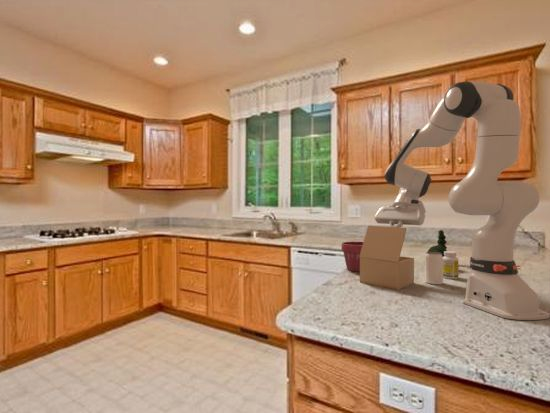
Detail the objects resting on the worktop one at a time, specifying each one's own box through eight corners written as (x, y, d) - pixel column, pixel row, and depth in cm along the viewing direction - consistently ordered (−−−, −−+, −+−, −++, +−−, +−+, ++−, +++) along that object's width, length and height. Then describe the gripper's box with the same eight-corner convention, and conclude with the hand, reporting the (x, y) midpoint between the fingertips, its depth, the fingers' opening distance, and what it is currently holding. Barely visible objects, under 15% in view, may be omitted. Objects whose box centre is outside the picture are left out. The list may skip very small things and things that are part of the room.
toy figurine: (431, 265, 174) (424, 269, 153) (432, 229, 175) (425, 229, 154) (451, 267, 168) (446, 271, 148) (452, 230, 170) (447, 229, 149)
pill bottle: (454, 276, 141) (454, 250, 140) (461, 279, 134) (461, 253, 134) (439, 275, 141) (439, 250, 141) (445, 279, 135) (445, 252, 135)
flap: (368, 226, 135) (368, 225, 135) (406, 228, 124) (406, 227, 123) (359, 257, 130) (359, 256, 130) (398, 262, 119) (397, 261, 119)
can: (445, 285, 125) (445, 254, 125) (427, 284, 126) (427, 254, 126) (440, 281, 132) (440, 252, 131) (423, 280, 133) (423, 251, 133)
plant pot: (335, 268, 158) (335, 242, 158) (358, 265, 164) (358, 240, 164) (354, 274, 145) (354, 245, 145) (378, 271, 151) (378, 243, 151)
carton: (376, 276, 140) (377, 253, 140) (413, 283, 129) (414, 258, 129) (359, 282, 130) (359, 257, 130) (398, 289, 119) (398, 262, 119)
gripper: (378, 201, 145) (367, 223, 139) (425, 201, 131) (415, 226, 124) (383, 210, 149) (372, 233, 142) (429, 211, 134) (419, 237, 127)
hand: (392, 230), depth 133 cm, fingers closed
